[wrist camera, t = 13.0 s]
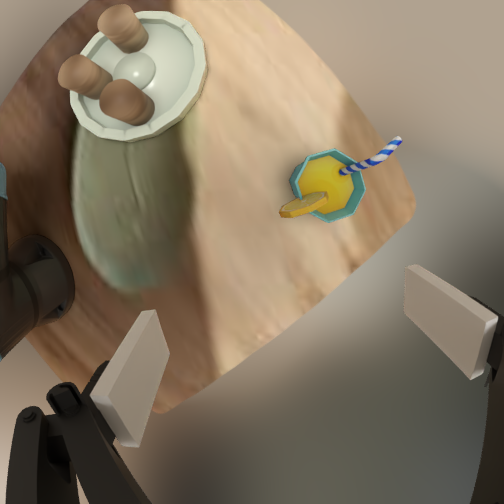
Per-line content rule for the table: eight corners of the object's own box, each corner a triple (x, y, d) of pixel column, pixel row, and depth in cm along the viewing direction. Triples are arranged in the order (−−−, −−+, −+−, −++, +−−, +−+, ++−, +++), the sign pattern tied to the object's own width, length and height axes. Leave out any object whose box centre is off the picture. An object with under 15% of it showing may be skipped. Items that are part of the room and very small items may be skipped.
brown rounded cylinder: (86, 103, 33) (58, 93, 26) (85, 77, 32) (58, 62, 25) (114, 94, 33) (88, 80, 26) (112, 66, 32) (88, 49, 25)
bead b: (119, 57, 32) (97, 38, 24) (119, 33, 31) (98, 11, 23) (149, 48, 32) (131, 25, 24) (148, 24, 31) (131, -1, 23)
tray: (83, 156, 36) (74, 156, 34) (78, 43, 31) (70, 38, 29) (215, 124, 36) (213, 121, 34) (199, 6, 31) (197, -2, 29)
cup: (332, 125, 37) (380, 104, 22) (365, 169, 39) (425, 171, 24) (255, 189, 39) (265, 199, 24) (292, 232, 41) (321, 265, 26)
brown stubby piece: (122, 99, 34) (98, 85, 26) (153, 91, 34) (134, 74, 26) (125, 129, 35) (100, 121, 27) (156, 121, 35) (137, 110, 27)
